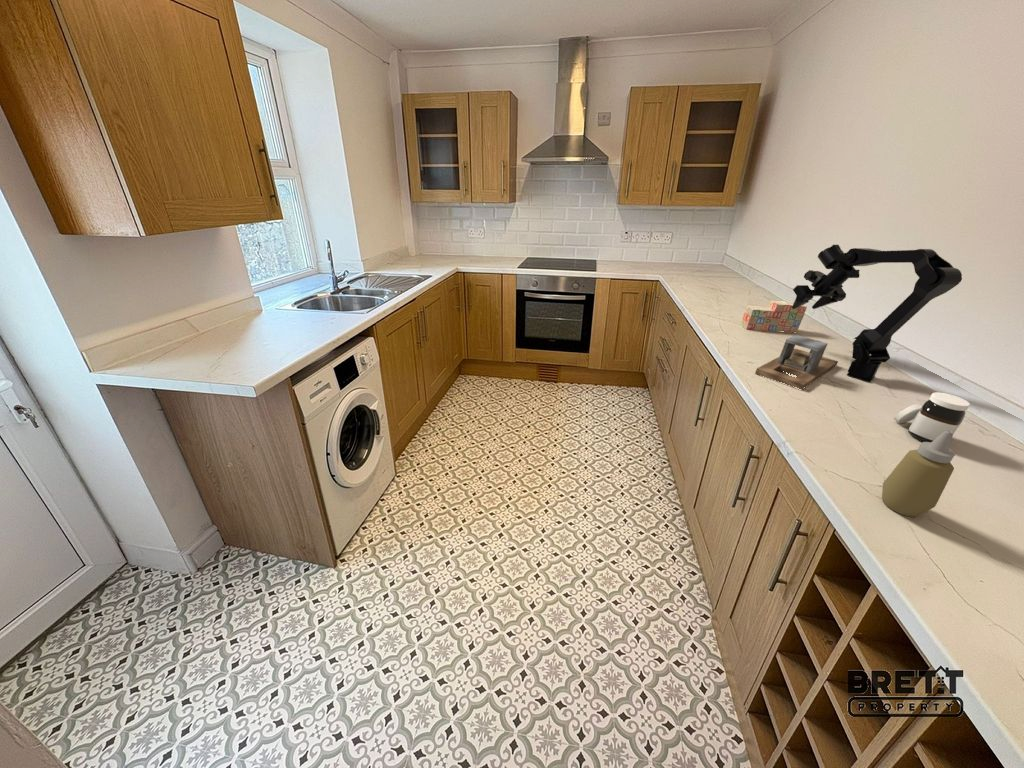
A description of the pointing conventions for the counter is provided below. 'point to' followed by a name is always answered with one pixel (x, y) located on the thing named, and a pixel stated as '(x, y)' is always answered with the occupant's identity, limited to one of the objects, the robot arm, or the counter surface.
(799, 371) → the tunnel deck
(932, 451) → the squeeze bottle
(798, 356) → the maple block
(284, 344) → the counter surface
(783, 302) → the stack of blocks
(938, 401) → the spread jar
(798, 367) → the sled
